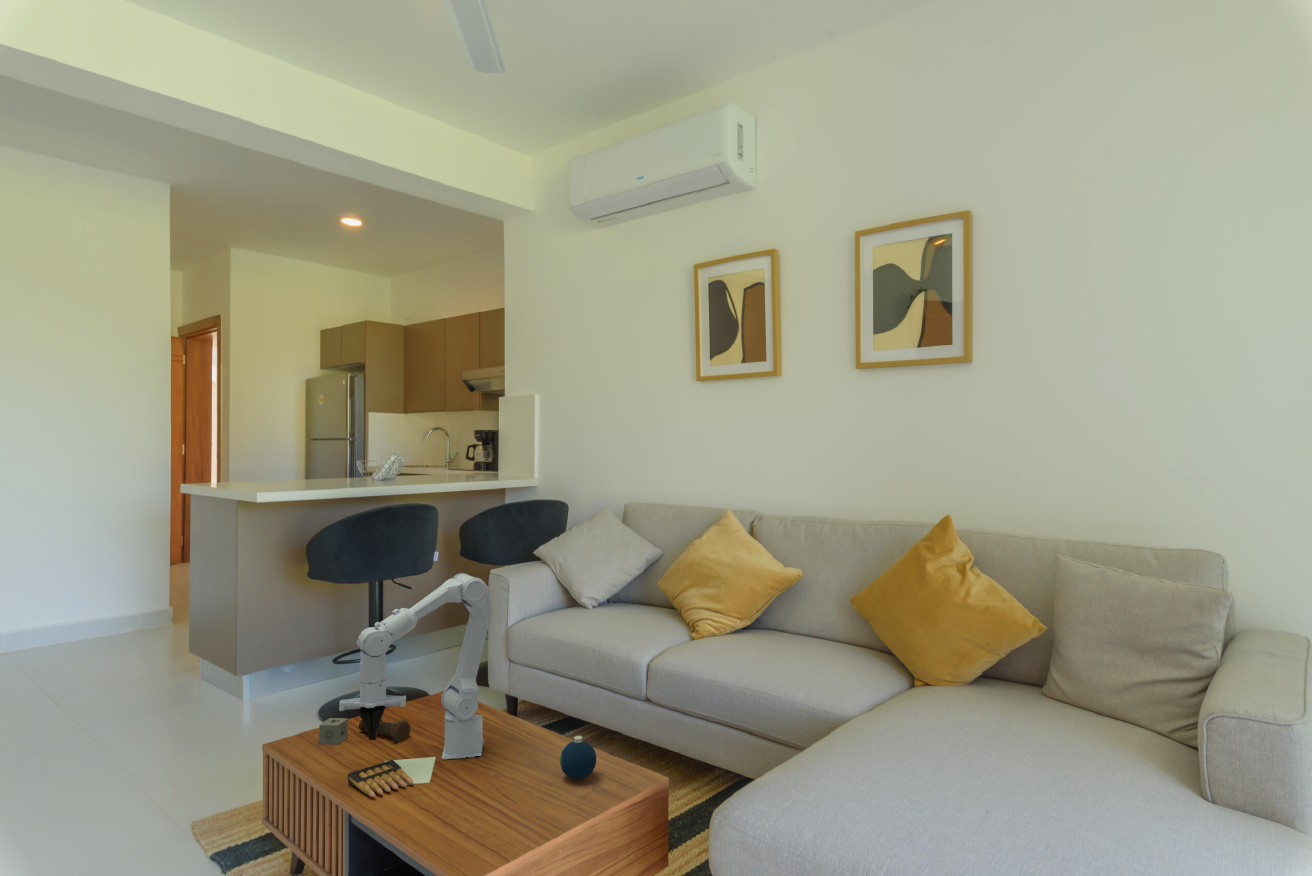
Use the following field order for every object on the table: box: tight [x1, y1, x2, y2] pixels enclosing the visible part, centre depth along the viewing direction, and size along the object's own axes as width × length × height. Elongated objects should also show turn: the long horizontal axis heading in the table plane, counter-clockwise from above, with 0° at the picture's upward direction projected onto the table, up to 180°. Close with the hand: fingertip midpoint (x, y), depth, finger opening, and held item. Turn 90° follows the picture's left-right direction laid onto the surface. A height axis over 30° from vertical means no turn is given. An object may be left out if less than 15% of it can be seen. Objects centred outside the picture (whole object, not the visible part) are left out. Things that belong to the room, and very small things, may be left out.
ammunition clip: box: [347, 759, 414, 798], centre depth 167 cm, size 11×2×12 cm
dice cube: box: [318, 717, 349, 746], centre depth 192 cm, size 5×5×5 cm
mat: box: [384, 756, 437, 787], centre depth 173 cm, size 12×14×1 cm
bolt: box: [358, 718, 411, 744], centre depth 195 cm, size 6×5×15 cm
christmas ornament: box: [559, 735, 597, 781], centre depth 170 cm, size 8×8×10 cm
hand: (372, 738), depth 172 cm, fingers closed
